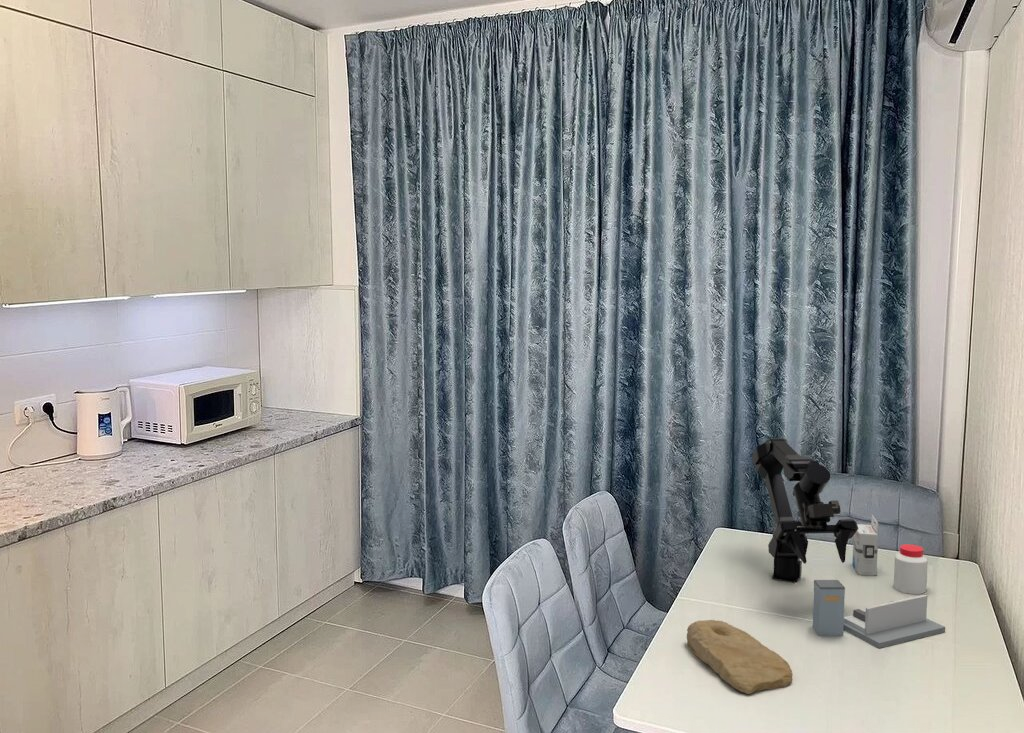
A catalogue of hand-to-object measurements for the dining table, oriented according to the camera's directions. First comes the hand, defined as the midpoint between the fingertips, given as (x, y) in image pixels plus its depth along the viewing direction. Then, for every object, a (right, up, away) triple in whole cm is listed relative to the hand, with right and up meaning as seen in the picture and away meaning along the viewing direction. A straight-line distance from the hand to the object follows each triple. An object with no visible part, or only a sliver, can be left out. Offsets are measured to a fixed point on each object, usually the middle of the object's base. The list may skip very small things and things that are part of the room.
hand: (824, 562), depth 202 cm
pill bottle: (+29, -11, +18) cm, 36 cm away
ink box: (+23, -10, +32) cm, 40 cm away
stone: (-27, -17, -22) cm, 39 cm away
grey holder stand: (+13, -14, -5) cm, 20 cm away
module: (-2, -14, -6) cm, 16 cm away
